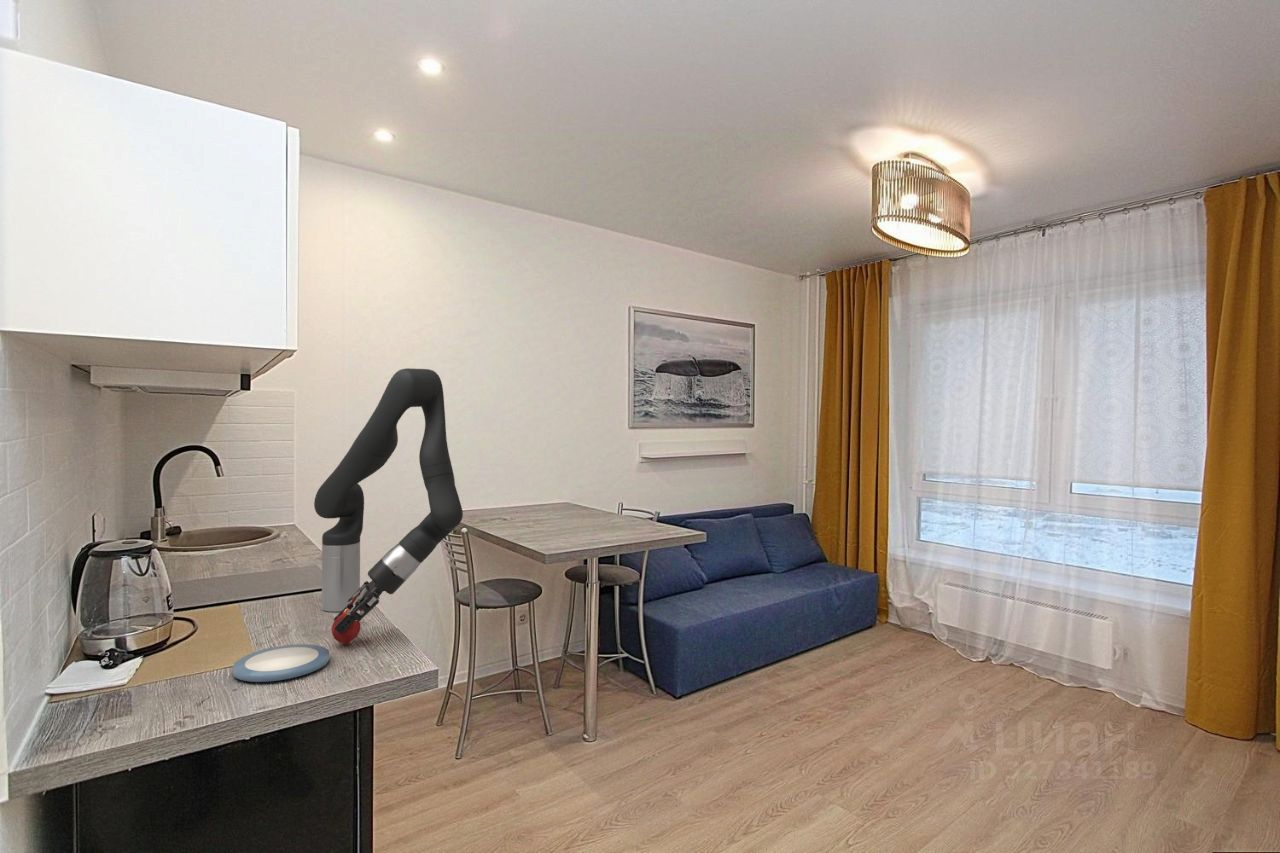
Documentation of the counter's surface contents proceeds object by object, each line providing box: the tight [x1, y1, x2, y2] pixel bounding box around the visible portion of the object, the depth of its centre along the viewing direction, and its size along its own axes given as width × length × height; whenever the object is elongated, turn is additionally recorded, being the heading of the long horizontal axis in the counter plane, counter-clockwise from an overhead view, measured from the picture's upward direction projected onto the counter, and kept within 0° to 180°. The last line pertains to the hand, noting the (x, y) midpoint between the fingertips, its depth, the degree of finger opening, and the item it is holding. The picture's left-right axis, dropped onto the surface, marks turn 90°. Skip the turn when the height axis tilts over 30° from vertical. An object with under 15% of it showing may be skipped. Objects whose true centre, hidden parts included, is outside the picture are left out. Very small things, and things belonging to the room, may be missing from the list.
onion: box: [331, 609, 361, 646], centre depth 144 cm, size 6×6×8 cm
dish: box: [232, 643, 330, 683], centre depth 130 cm, size 17×17×2 cm
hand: (337, 626), depth 143 cm, fingers closed on onion, 5 cm apart
